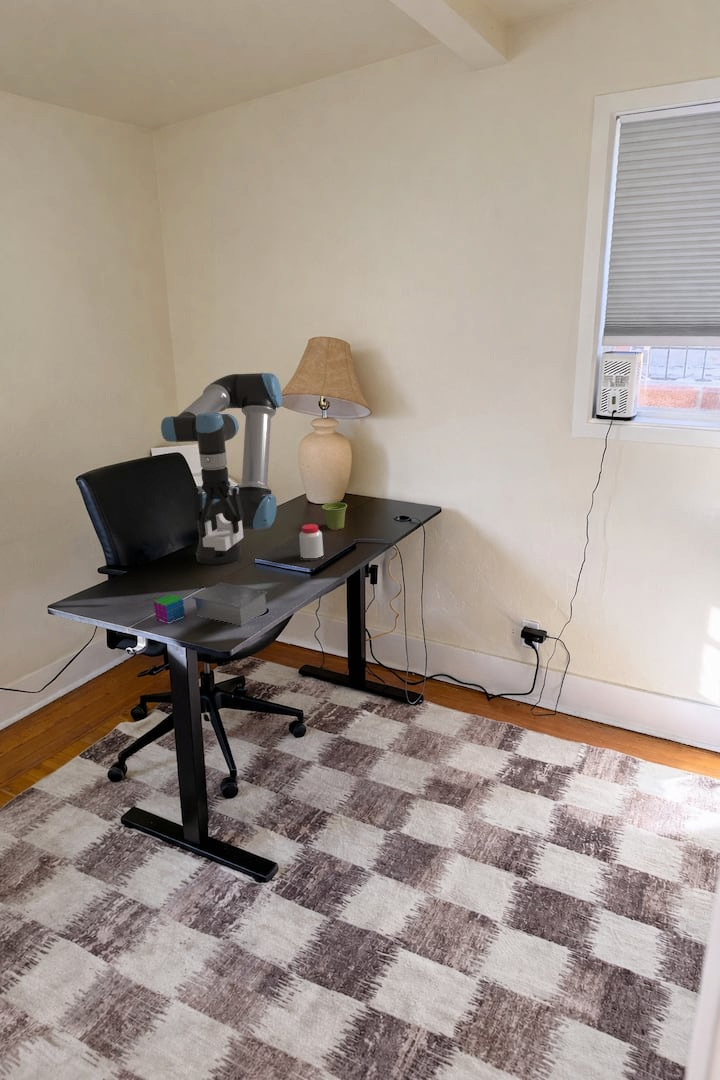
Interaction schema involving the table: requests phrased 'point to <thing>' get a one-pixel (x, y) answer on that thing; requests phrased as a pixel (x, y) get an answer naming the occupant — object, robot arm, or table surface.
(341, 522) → the plant pot
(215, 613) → the gray rectangular block
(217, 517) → the bracket
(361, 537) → the table surface
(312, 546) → the pill bottle
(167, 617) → the puzzle toy
